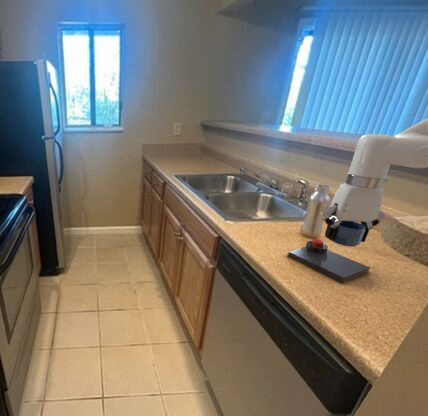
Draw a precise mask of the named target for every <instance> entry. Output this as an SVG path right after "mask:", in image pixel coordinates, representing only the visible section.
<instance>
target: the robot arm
mask: <svg viewBox="0 0 428 416" xmlns="http://www.w3.org/2000/svg"><path fill="white" fill-rule="evenodd" d="M391 165H394V166H400V167H407V168H412V169H426V168H428V117H426V118H425V119H423V120H421V121H419V122H417V123H415V124H414V125H412V126H410V127H408V128H406V129H405V130H402V131H400V132H399V133H397V134H396V135H391V134H380V133H379V134H377V133H370V134H364V135H362V136H361V137H360V138H359V139H358V142H357V144H356V147H355V151H354V154H353V157H352V159H351V164H350V166H349V169H348V172H347V175H346V178H345V182H344V183H341V184H340V185H339V187H338V188H337V190H336V192H335V194H334V196H333V198H332V200H331V201H330V204H329V207H328V208H327V209H326V210H324V211H322V212H320V215H321V216H322V218H323V222H325V224H326V229H325V232H324V237H325V238H327V239H328V240H330V241H331V242H333V240H334V239H335V236H336V233H337V230H338V229H337V228H336V227H337V226H338V225H339V224H340V223H341V222H342V221H354V222H359V223H360V224H362V225H364V226H365V227H366V229H365V232H364V235H363V237H362V240H361V243H365V242H366V240H367V237H368V234H369V231H371V230H373V229H374V227H375V226H377V225H379V224H380V222H382V221H383V220H384V219H386V218H387V215H386V214H385V213H384V212H383V211H382V210H381V206H382V202H383V198H384V187H383V186H384V183H388V182H389V178H388V177H387V176H388V173H389V171H390V168H391ZM330 216H331V217H330ZM336 219H337V220H336ZM335 220H336V221H335ZM334 221H335V222H334ZM333 222H334V223H333Z"/></svg>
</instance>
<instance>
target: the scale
mask: <svg viewBox="0 0 428 416" xmlns="http://www.w3.org/2000/svg"><path fill="white" fill-rule="evenodd" d="M312 242H313V240H308V241H306V245H305V246H303V247H300V248H298V249H297V248H296V249H293V250H290V251H288V254H287V257H288V258H290V259H291V260H294V261H296V262H298V263H300V264H302V265H303V266H306V267H307V268H309V269H312V270H313V271H316V272H318V273H319V274H322V275H324V276H327V277H328V278H330V279H332V280H334V281H335V282H338V283H340V284H344V283H346V282H349V281H351V280H353V279H356V278H358V277H361V276H363V275H366V274H367V273H368V274H369V270H370V266H368V265H366V264H363V263H361V262H358V261H357V260H353V259H351V258H348V257H346V256H344V255H341V254H339V253H337V252H334V251H332V250H329V249H328V248H329V246H328V245H327V244H325V243H323V246H322V247H315V246H313V245H312Z"/></svg>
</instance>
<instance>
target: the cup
mask: <svg viewBox="0 0 428 416" xmlns="http://www.w3.org/2000/svg"><path fill="white" fill-rule="evenodd" d="M336 220H337V219H336ZM336 220H335V221H336ZM335 221H334V222H335ZM334 222H333V223H334ZM336 228H337V229H338V230H337V233H336V236H335V239H334V240H333V241H332V242H333V243H334V244H337V245H339V246H343V247H349V248H350V247H356V246H360V245H361V243H362V242H361V240H362V237H363V235H364V232H365V229H366V227H365V226H364V225H362V224H361V223H360V222H358V221H342V222H341V223H340V224H339V225H338V226H337V227H336Z"/></svg>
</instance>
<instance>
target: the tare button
mask: <svg viewBox="0 0 428 416" xmlns="http://www.w3.org/2000/svg"><path fill="white" fill-rule="evenodd" d="M312 241H313V242H312V245H313V246H315V247H322V246H323V244H324V241H323V240H321V239H318V238H314V239H313V240H312Z"/></svg>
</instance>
